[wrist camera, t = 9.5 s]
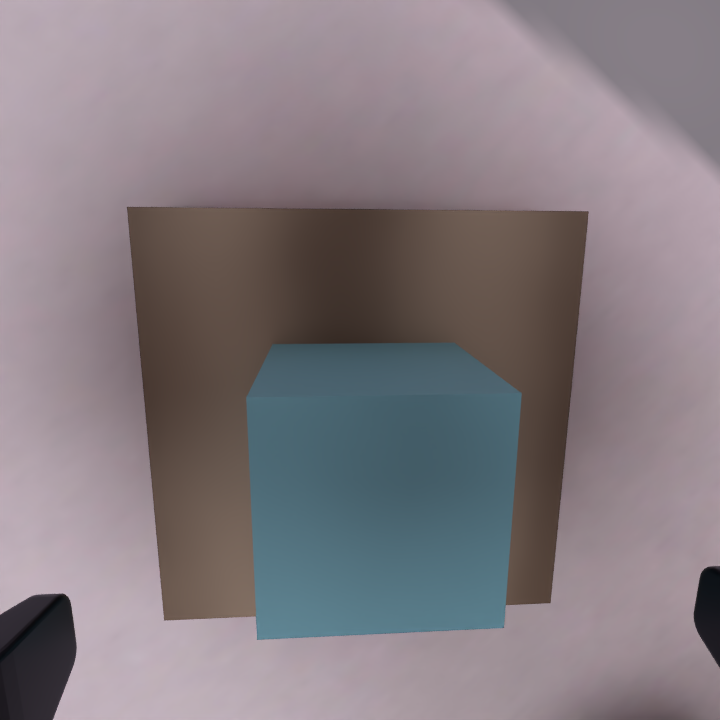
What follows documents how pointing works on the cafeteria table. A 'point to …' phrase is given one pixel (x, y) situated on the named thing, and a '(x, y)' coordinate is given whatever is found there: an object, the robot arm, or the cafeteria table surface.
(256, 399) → the teal cube
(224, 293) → the walnut base
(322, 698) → the cafeteria table surface
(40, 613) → the robot arm
